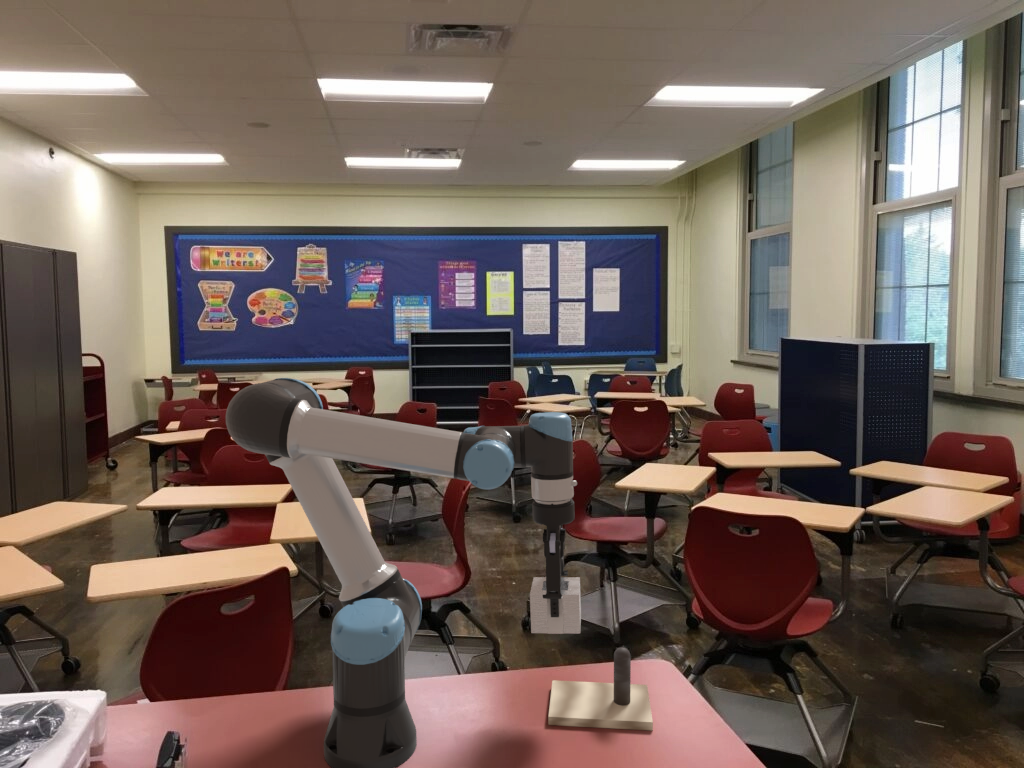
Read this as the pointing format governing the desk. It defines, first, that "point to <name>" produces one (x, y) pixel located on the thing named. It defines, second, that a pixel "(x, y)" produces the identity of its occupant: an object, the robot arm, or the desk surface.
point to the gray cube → (570, 605)
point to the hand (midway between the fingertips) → (557, 621)
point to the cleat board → (602, 701)
